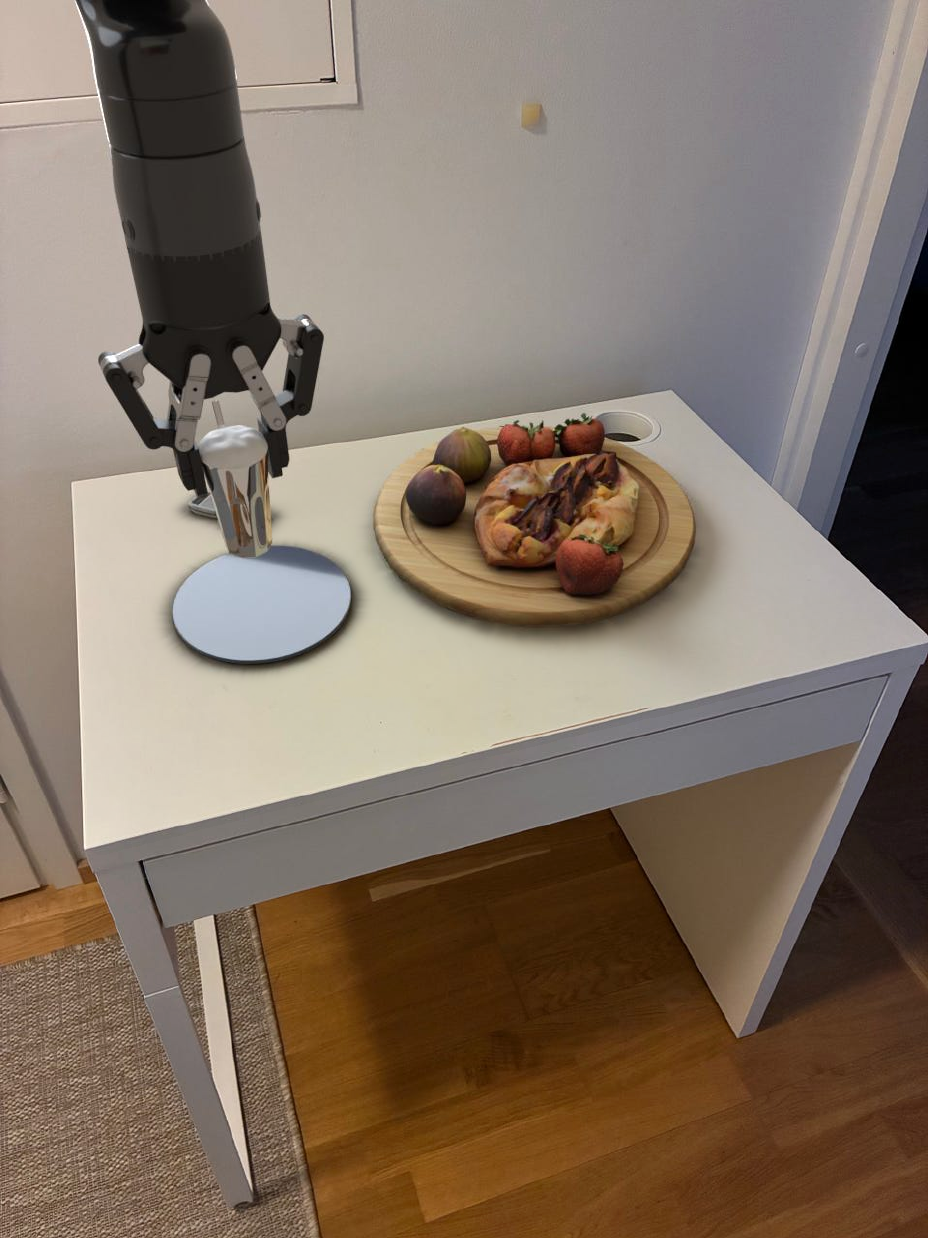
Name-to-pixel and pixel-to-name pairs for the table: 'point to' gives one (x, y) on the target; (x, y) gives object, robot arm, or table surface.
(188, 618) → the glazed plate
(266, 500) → the milkshake
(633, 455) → the wooden plate
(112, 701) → the table surface
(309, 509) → the table surface
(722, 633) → the table surface
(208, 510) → the strap clip
